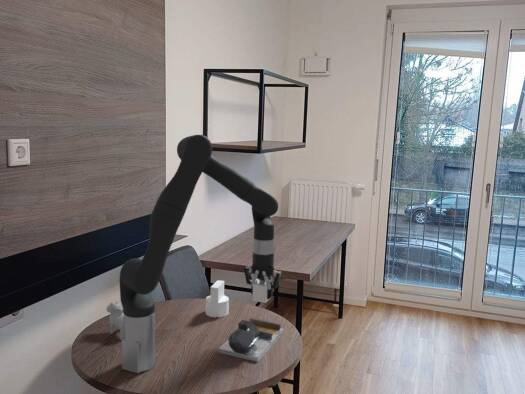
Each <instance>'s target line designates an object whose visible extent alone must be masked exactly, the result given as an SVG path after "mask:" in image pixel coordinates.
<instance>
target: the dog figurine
mask: <svg viewBox="0 0 525 394" xmlns="http://www.w3.org/2000/svg"><path fill="white" fill-rule="evenodd" d="M106 312H108V313H110V315H109V319H108V322H109V328H110V332H109V334H110V335H111V334H112V335H113V334H114V333H115V328H118V330H119V340H120V341H122V339H124V314H123V306H122V304H121V301H115V303H114V302H110V303H109V304H108V305H107V306H106Z"/></svg>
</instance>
